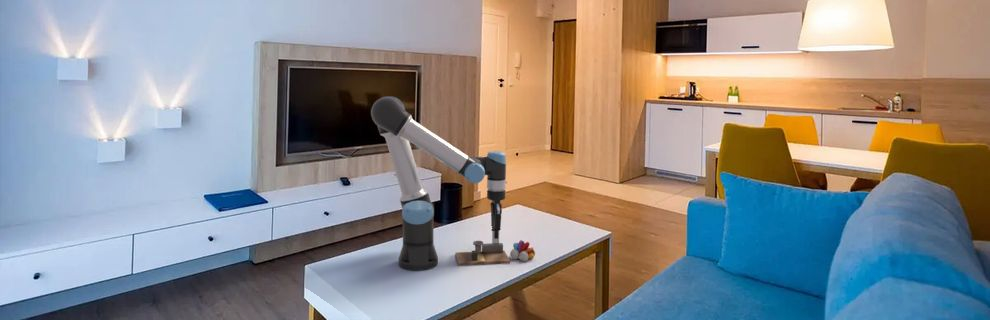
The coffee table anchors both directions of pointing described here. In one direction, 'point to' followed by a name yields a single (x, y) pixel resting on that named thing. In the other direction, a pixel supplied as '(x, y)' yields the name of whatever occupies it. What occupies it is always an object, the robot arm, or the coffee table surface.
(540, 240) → the coffee table surface
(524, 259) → the multicolored petal toy
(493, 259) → the board
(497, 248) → the bar
